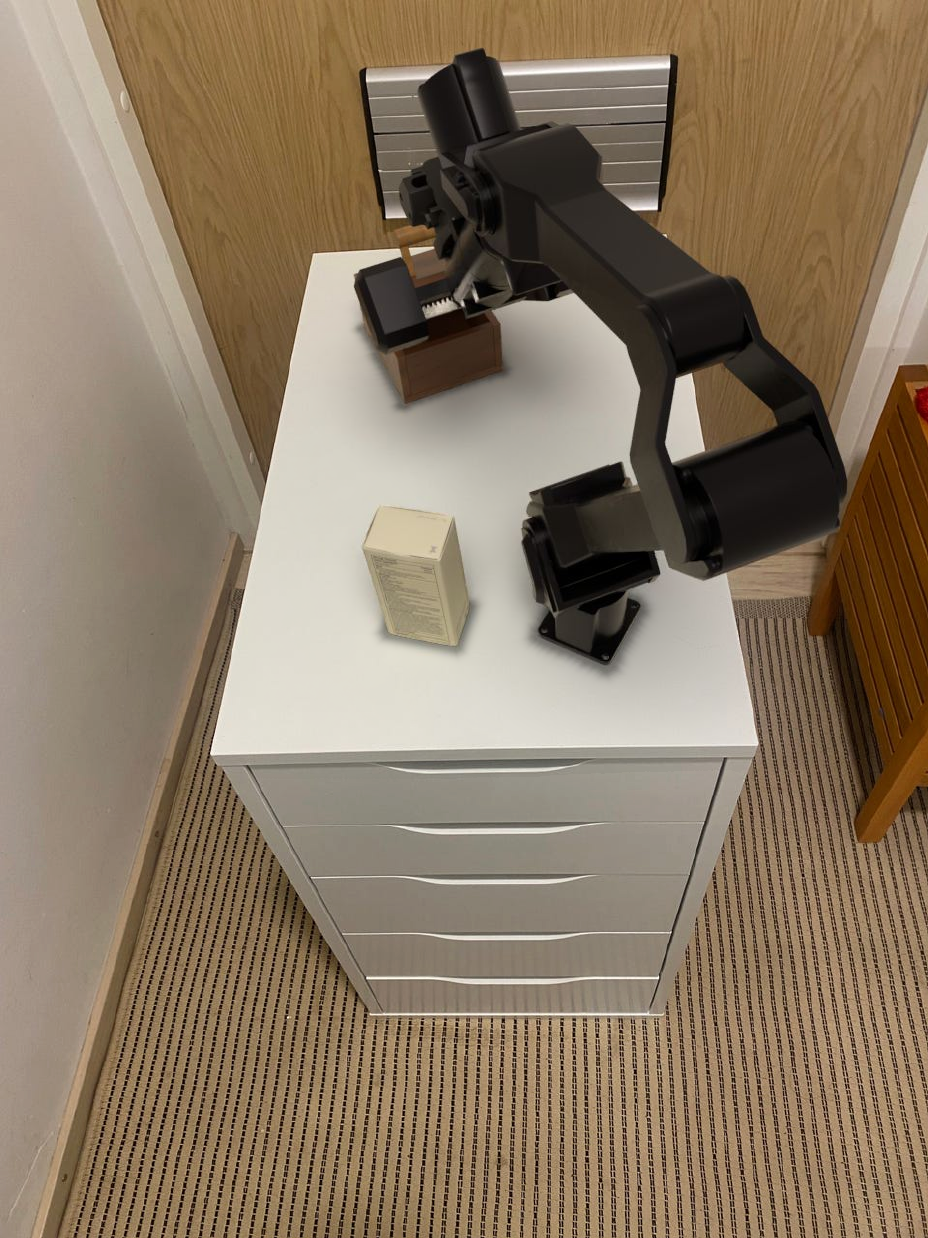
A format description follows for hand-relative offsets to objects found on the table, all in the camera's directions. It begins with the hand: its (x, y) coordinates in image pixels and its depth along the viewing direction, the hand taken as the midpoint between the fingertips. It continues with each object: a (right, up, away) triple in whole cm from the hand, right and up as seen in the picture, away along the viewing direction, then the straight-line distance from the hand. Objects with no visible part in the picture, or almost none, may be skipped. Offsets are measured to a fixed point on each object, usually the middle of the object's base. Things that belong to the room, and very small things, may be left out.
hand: (461, 309), depth 81 cm
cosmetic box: (-3, -27, -2) cm, 27 cm away
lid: (-4, +6, +9) cm, 12 cm away
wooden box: (-3, +1, +17) cm, 17 cm away
